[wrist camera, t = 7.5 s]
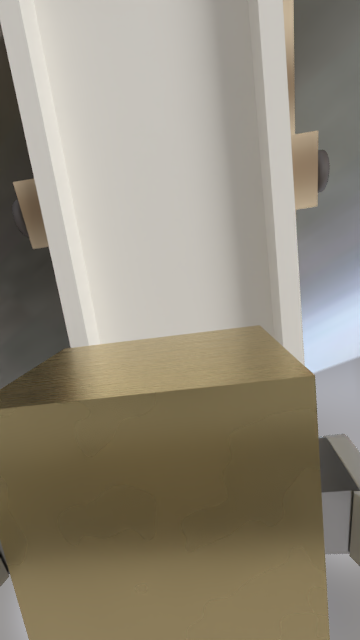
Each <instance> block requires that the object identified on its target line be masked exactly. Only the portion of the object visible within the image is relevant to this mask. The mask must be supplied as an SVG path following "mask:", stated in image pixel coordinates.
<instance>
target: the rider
mask: <svg viewBox="0 0 360 640" xmlns="http://www.w3.org/2000/svg"><path fill="white" fill-rule="evenodd" d="M0 541H1V544H2V548H3V551H4V555H5V558H6V562H7V565H8V569H9V572H10V575H11V579H12V582H13V586H14V589H15V593H16V596H17V600H18V603H19V607H20V610H21V613H22V617H23V620H24V624H25V627H26V631H27V634H28V638H29V640H330V638H329V619H328V602H327V584H326V565H325V547H324V529H323V511H322V493H321V475H320V457H319V439H318V423H317V403H316V386H315V375H314V374H313V373H312V372H310V371H309V370H308V369H307V368H306V367H305V366H304V365H303V364H302V363H301V362H300V361H298V360H297V359H296V358H295V357H294V356H293V355H292V354H291V353H290V352H289V351H287V350H286V349H285V348H284V347H283V346H282V345H281V344H280V343H279V342H278V341H276V340H275V339H274V338H273V337H272V336H271V335H270V334H269V333H268V332H267V331H265V330H264V329H263V328H262V327H261V326H260V325H257V326H249V327H240V328H232V329H224V330H215V331H207V332H199V333H190V334H182V335H174V336H166V337H157V338H149V339H141V340H132V341H124V342H116V343H108V344H99V345H91V346H83V347H74V348H66V349H63V350H62V351H60V352H59V353H57V354H56V355H54V356H52V357H51V358H49V359H48V360H46V361H45V362H43V363H41V364H40V365H38V366H37V367H35V368H33V369H32V370H30V371H29V372H27V373H26V374H24V375H22V376H21V377H19V378H18V379H16V380H15V381H13V382H11V383H10V384H8V385H7V386H5V387H3V388H2V389H0Z"/></svg>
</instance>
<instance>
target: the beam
mask: <svg viewBox="0 0 360 640" xmlns="http://www.w3.org/2000/svg"><path fill="white" fill-rule="evenodd" d="M0 22H1V27H2V31H3V36H4V41H5V45H6V50H7V55H8V59H9V64H10V69H11V73H12V78H13V82H14V87H15V92H16V96H17V101H18V106H19V110H20V115H21V120H22V124H23V129H24V133H25V138H26V143H27V147H28V152H29V157H30V161H31V166H32V171H33V175H34V180H35V184H36V189H37V194H38V198H39V203H40V208H41V212H42V217H43V222H44V226H45V231H46V235H47V240H48V245H49V249H50V254H51V259H52V263H53V268H54V273H55V277H56V282H57V286H58V291H59V296H60V300H61V305H62V310H63V314H64V319H65V324H66V328H67V333H68V337H69V342H70V347H71V348H74V347H83V346H91V345H99V344H108V343H116V342H124V341H132V340H141V339H149V338H157V337H166V336H174V335H182V334H190V333H199V332H207V331H215V330H224V329H232V328H240V327H249V326H257V325H260V326H261V327H262V328H263V329H264V330H265V331H267V332H268V333H269V334H270V335H271V336H272V337H273V338H274V339H275V340H276V341H278V342H279V343H280V344H281V345H282V346H283V347H284V348H285V349H286V350H287V351H289V352H290V353H291V354H292V355H293V356H294V357H295V358H296V359H297V360H298V361H300V362H301V363H302V364H303V365H304V348H303V331H302V315H301V298H300V281H299V264H298V248H297V231H296V214H295V198H294V181H293V164H292V147H291V131H290V114H289V97H288V80H287V64H286V47H285V30H284V14H283V0H0ZM304 366H305V365H304Z"/></svg>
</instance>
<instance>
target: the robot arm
mask: <svg viewBox="0 0 360 640" xmlns="http://www.w3.org/2000/svg"><path fill="white" fill-rule="evenodd" d="M318 439H319V457H320V475H321V493H322V511H323V529H324V547H325V554H349V553H350V557H351V558H352V559H353V560H354V561H355V562H356V563H357V564H358V565H359V566H360V452H359V451H358V449H357V448H356V447H355V445H354V444H353V443H352V441H351V440H350V439H349V437H348V436H346V435H345V434H337V435H328V436H323V437H322V436H320V437H318ZM9 574H10V572H9V569H8V565H7V562H6V558H5V555H4V551H3V548H2V544H1V541H0V586H1V585H2V584H3V583H4V582H5V581H6V579H7V578H8V577H9Z"/></svg>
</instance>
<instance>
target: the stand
mask: <svg viewBox="0 0 360 640" xmlns="http://www.w3.org/2000/svg"><path fill="white" fill-rule="evenodd" d="M283 14H284V30H285V47H286V64H287V80H288V97H289V114H290V131H291V147H292V164H293V181H294V198H295V214H296V209H303V208H310V207H316V206H317V199H318V193H319V192H322V191H323V190H324V189H325V187H326V185H327V182H328V178H329V169H330V165H329V158H328V154H327V152H326V151H325V150H318V131H312V132H307V133H301V134H295V95H294V11H293V0H283ZM13 185H14V188H15V191H16V195H17V198H18V200H16V201H14V203H13V206H12V212H13V217H14V220H15V223H16V225H17V227H18V229H19V230H20V231H21V233H22V234H24V235H25V236H27V237H29V238H30V241H31V244H32V248H33V249H36V248H43V247H49V245H48V240H47V235H46V231H45V226H44V222H43V217H42V212H41V208H40V203H39V198H38V194H37V189H36V184H35V180H34V179H28V180H22V181H17V182H13Z"/></svg>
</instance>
